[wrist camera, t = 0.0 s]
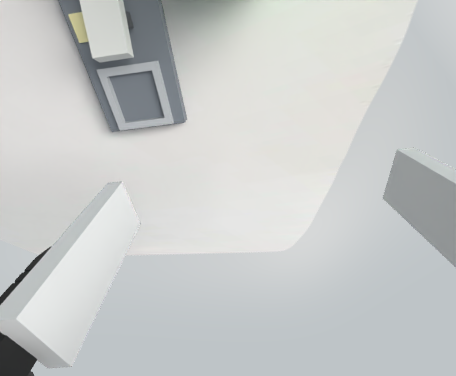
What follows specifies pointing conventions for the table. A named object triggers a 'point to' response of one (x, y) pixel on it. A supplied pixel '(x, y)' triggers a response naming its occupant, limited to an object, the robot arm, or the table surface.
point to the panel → (134, 69)
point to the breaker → (107, 29)
